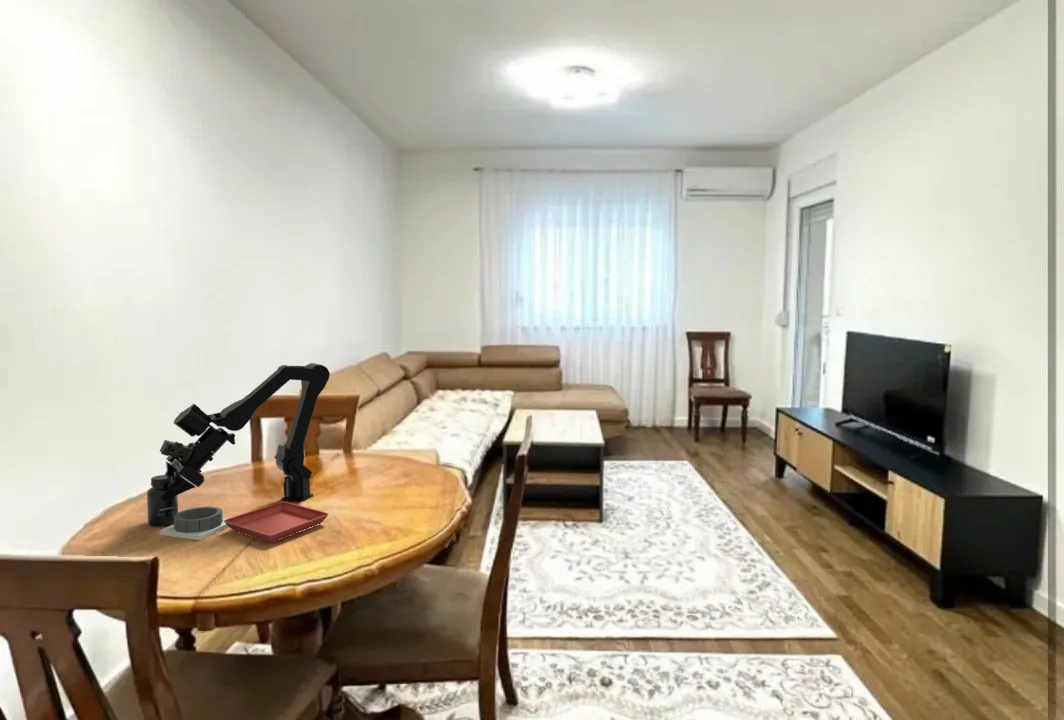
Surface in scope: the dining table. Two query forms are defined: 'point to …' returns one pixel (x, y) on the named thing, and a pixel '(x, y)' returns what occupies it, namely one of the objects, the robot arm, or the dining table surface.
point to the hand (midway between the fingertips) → (159, 495)
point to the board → (196, 536)
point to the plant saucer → (276, 521)
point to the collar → (198, 519)
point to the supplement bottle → (161, 502)
